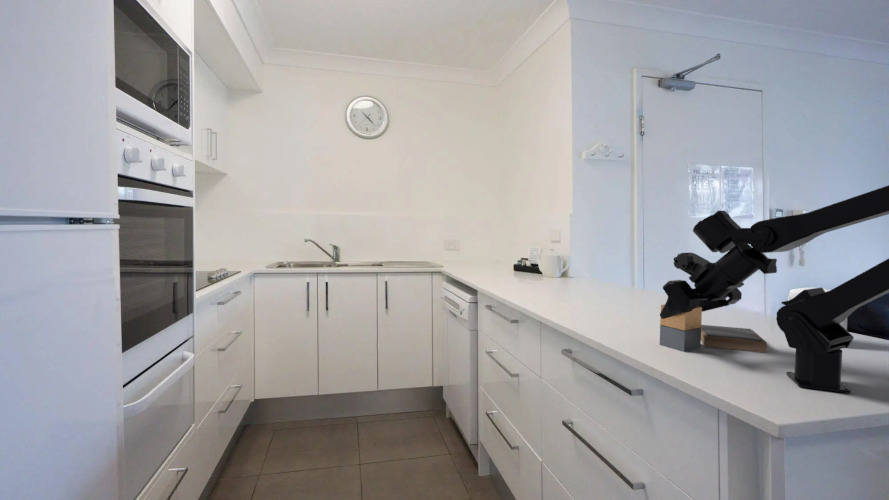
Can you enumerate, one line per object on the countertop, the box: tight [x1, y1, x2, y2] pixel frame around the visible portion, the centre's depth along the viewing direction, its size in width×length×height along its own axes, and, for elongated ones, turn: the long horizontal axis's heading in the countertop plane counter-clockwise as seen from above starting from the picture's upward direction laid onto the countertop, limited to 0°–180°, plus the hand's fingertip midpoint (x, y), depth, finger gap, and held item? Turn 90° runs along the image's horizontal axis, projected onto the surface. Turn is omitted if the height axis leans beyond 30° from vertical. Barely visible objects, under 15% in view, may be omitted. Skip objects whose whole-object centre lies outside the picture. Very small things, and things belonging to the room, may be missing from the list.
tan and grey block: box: [659, 304, 703, 353], centre depth 89 cm, size 6×6×9 cm
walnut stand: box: [701, 324, 768, 353], centre depth 93 cm, size 11×11×2 cm
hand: (675, 314), depth 90 cm, fingers open, 9 cm apart
